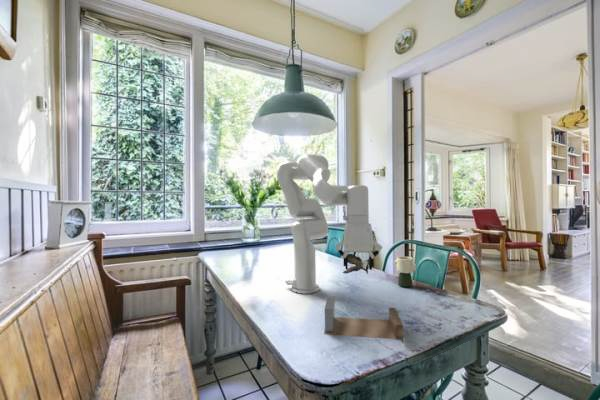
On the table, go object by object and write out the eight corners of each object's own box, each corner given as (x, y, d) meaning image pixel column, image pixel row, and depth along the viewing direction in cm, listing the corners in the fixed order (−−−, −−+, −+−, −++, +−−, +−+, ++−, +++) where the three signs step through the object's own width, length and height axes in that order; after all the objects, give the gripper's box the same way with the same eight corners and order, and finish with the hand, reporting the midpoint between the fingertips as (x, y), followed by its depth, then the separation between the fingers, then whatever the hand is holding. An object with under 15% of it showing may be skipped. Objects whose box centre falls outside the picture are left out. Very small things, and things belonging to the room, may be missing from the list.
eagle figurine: (366, 266, 103) (342, 261, 104) (371, 252, 99) (346, 247, 100) (366, 282, 97) (341, 277, 98) (370, 268, 93) (344, 263, 94)
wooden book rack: (324, 339, 80) (323, 320, 80) (327, 321, 92) (326, 304, 92) (403, 344, 77) (402, 325, 77) (395, 325, 88) (395, 308, 88)
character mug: (420, 287, 125) (420, 258, 125) (411, 290, 120) (411, 261, 120) (399, 281, 133) (399, 255, 133) (390, 284, 129) (390, 257, 129)
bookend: (325, 332, 81) (324, 308, 81) (327, 317, 91) (327, 296, 91) (333, 332, 81) (332, 309, 81) (334, 318, 91) (334, 297, 91)
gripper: (332, 220, 96) (333, 270, 97) (384, 220, 94) (385, 272, 94) (333, 218, 104) (334, 265, 104) (381, 218, 101) (382, 266, 101)
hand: (358, 268), depth 99 cm, fingers closed on eagle figurine, 7 cm apart
